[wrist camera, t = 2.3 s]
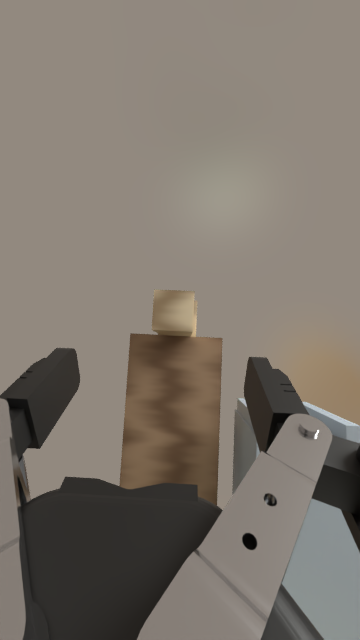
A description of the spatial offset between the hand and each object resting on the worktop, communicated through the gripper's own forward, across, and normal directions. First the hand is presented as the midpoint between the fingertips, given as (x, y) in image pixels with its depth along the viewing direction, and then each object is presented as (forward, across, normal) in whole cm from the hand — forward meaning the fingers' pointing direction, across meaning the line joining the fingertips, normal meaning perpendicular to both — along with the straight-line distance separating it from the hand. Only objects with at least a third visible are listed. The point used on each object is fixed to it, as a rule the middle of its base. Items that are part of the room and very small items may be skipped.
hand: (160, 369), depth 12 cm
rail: (+15, 0, +6) cm, 16 cm away
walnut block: (+2, 0, +35) cm, 35 cm away
